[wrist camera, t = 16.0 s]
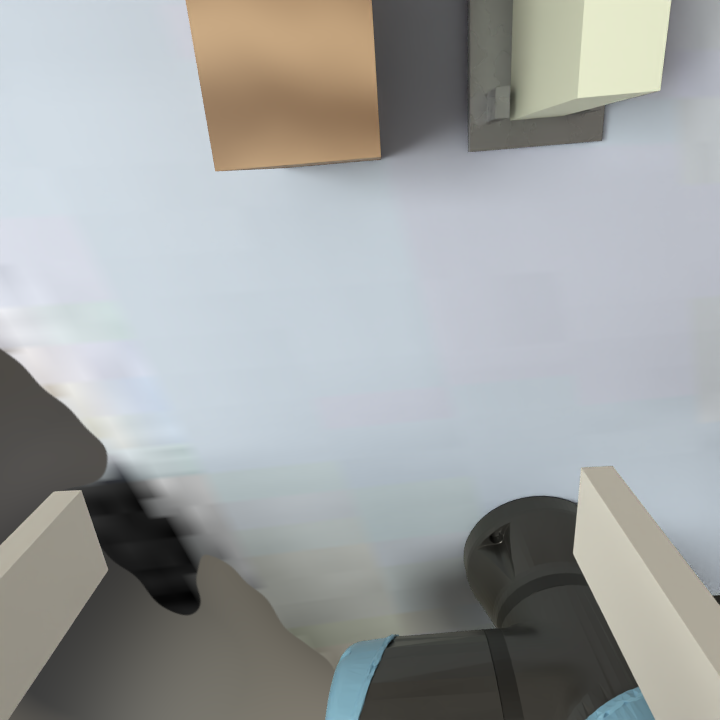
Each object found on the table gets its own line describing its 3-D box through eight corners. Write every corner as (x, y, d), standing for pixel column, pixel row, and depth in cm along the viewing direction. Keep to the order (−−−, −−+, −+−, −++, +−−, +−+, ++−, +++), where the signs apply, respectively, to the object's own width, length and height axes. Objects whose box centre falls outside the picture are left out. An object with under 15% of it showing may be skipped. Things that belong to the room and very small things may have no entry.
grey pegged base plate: (596, 141, 39) (619, 138, 35) (468, 152, 40) (477, 150, 36) (618, -119, 33) (648, -155, 30) (467, -102, 34) (478, -134, 30)
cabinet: (380, 159, 40) (380, 156, 24) (282, 168, 41) (215, 171, 24) (365, -89, 34) (352, -328, 18) (252, -76, 35) (134, -295, 18)
